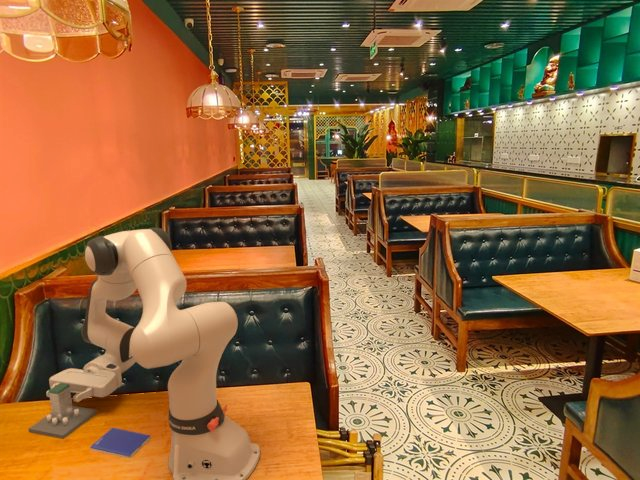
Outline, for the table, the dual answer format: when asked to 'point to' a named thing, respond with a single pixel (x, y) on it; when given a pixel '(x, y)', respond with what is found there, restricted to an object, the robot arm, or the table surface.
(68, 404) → the block
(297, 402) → the table surface
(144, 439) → the hard drive
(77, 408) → the dock
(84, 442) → the table surface
